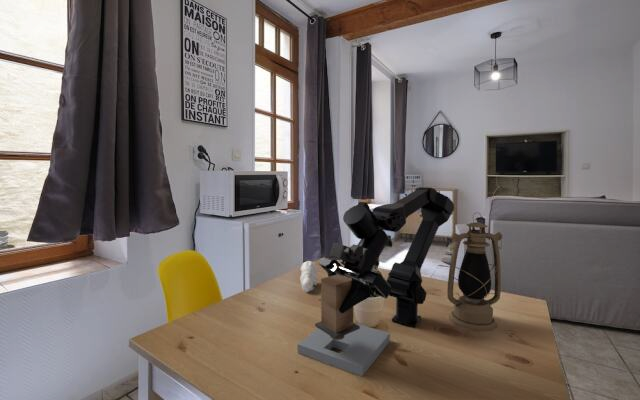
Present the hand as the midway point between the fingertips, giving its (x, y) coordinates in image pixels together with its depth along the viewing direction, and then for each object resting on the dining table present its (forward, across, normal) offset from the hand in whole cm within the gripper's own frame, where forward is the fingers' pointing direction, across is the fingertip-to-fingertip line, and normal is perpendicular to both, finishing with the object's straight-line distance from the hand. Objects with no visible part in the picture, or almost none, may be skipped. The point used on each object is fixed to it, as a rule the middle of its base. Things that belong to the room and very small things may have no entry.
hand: (332, 307), depth 70 cm
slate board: (+4, -1, +12) cm, 12 cm away
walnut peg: (+4, 0, +6) cm, 7 cm away
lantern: (-21, +10, +38) cm, 44 cm away
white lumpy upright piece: (-6, -38, +23) cm, 45 cm away
